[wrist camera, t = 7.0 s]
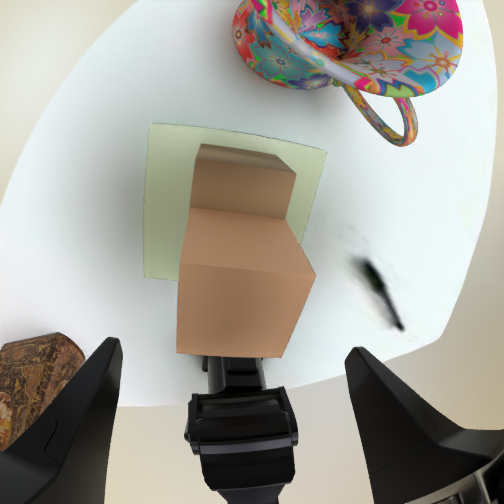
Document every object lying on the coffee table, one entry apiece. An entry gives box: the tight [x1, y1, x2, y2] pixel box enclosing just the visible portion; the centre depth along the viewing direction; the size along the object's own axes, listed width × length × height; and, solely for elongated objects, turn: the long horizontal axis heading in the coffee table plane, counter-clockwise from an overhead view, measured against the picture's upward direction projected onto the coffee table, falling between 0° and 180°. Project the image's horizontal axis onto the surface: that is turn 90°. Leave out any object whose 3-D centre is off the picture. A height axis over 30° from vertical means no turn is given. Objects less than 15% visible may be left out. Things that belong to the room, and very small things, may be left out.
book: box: [0, 332, 85, 452], centre depth 15 cm, size 16×6×25 cm, turn 105°
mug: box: [233, 0, 463, 147], centre depth 10 cm, size 12×9×11 cm
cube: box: [177, 207, 316, 358], centre depth 13 cm, size 5×5×5 cm
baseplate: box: [143, 123, 327, 281], centre depth 20 cm, size 12×12×1 cm
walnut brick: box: [188, 143, 297, 220], centre depth 17 cm, size 10×5×5 cm, turn 169°
